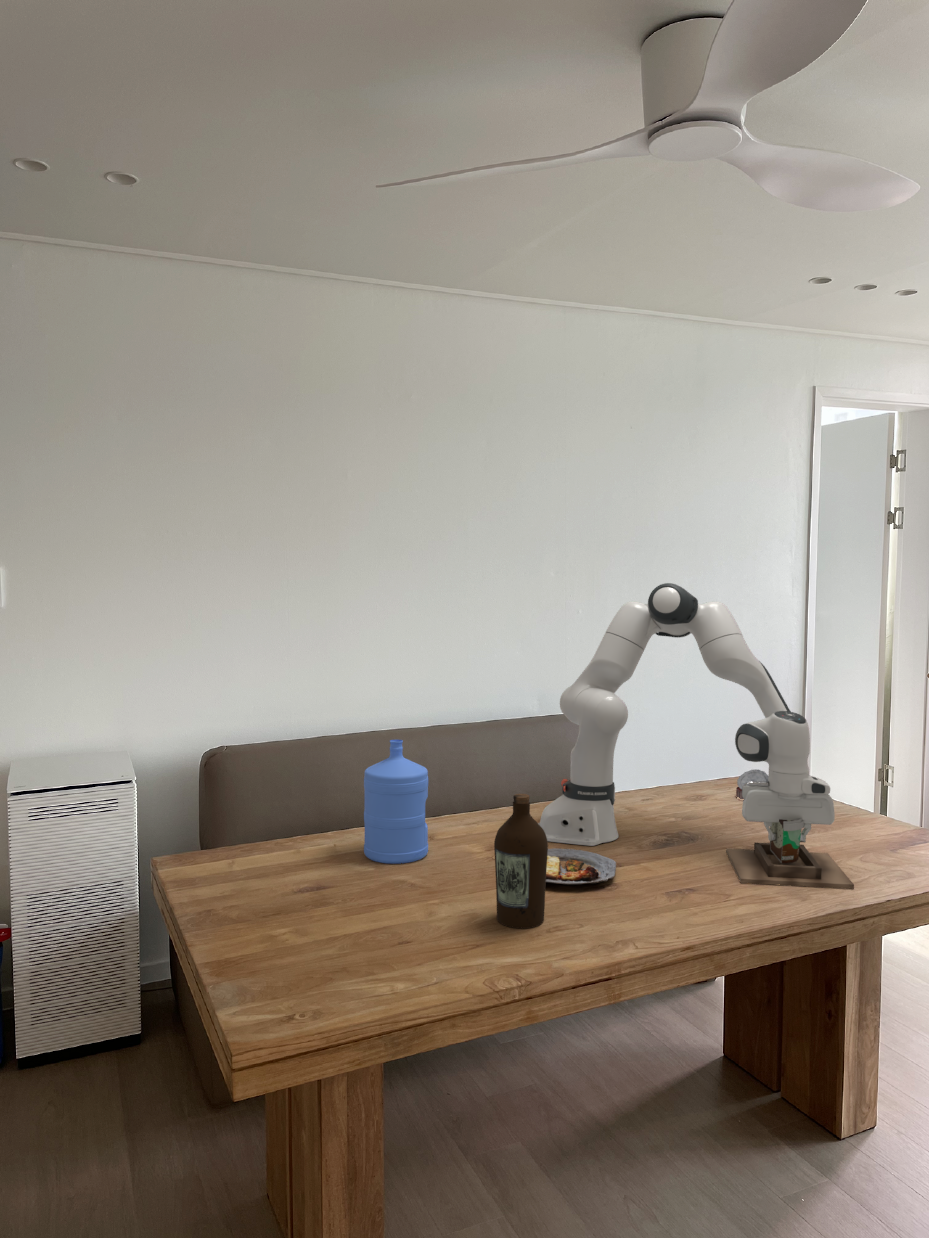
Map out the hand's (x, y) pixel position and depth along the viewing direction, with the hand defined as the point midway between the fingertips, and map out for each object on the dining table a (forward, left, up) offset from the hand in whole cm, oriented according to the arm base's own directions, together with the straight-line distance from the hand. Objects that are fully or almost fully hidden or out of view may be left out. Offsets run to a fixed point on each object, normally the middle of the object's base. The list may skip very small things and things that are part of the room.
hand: (786, 841), depth 209 cm
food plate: (-51, -10, -7) cm, 53 cm away
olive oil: (-59, -39, -7) cm, 71 cm away
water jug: (-92, -3, -7) cm, 92 cm away
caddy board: (0, 0, -7) cm, 7 cm away
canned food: (+4, +66, -7) cm, 66 cm away
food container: (+1, 0, -4) cm, 4 cm away
